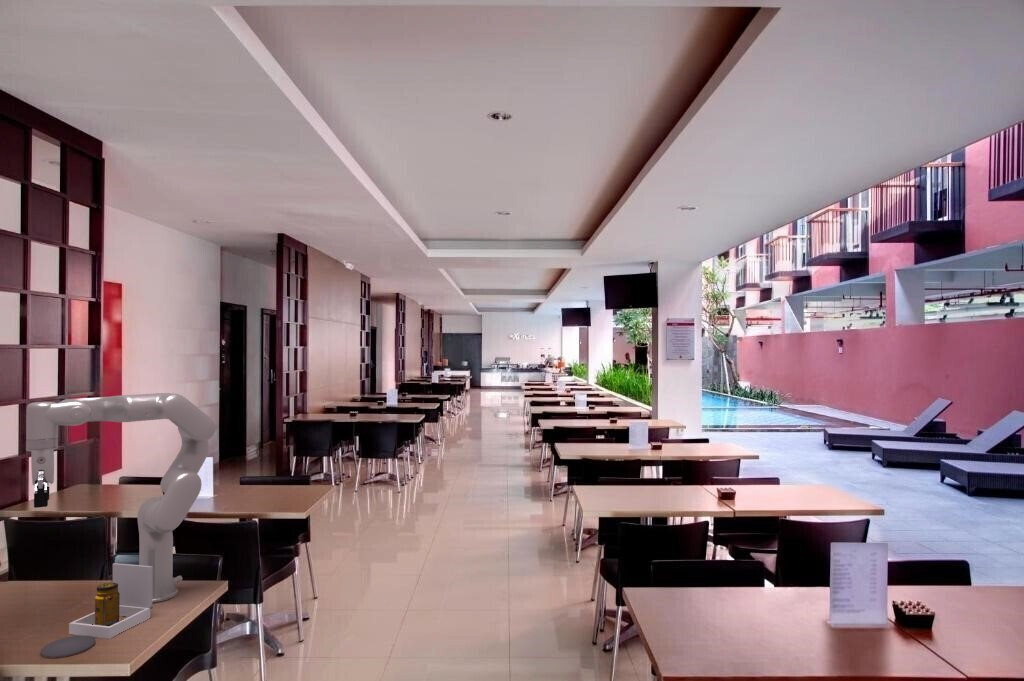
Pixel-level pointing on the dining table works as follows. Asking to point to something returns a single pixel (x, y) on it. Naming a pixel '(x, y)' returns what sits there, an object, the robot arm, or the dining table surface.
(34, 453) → the robot arm
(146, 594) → the case
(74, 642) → the mat
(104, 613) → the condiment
